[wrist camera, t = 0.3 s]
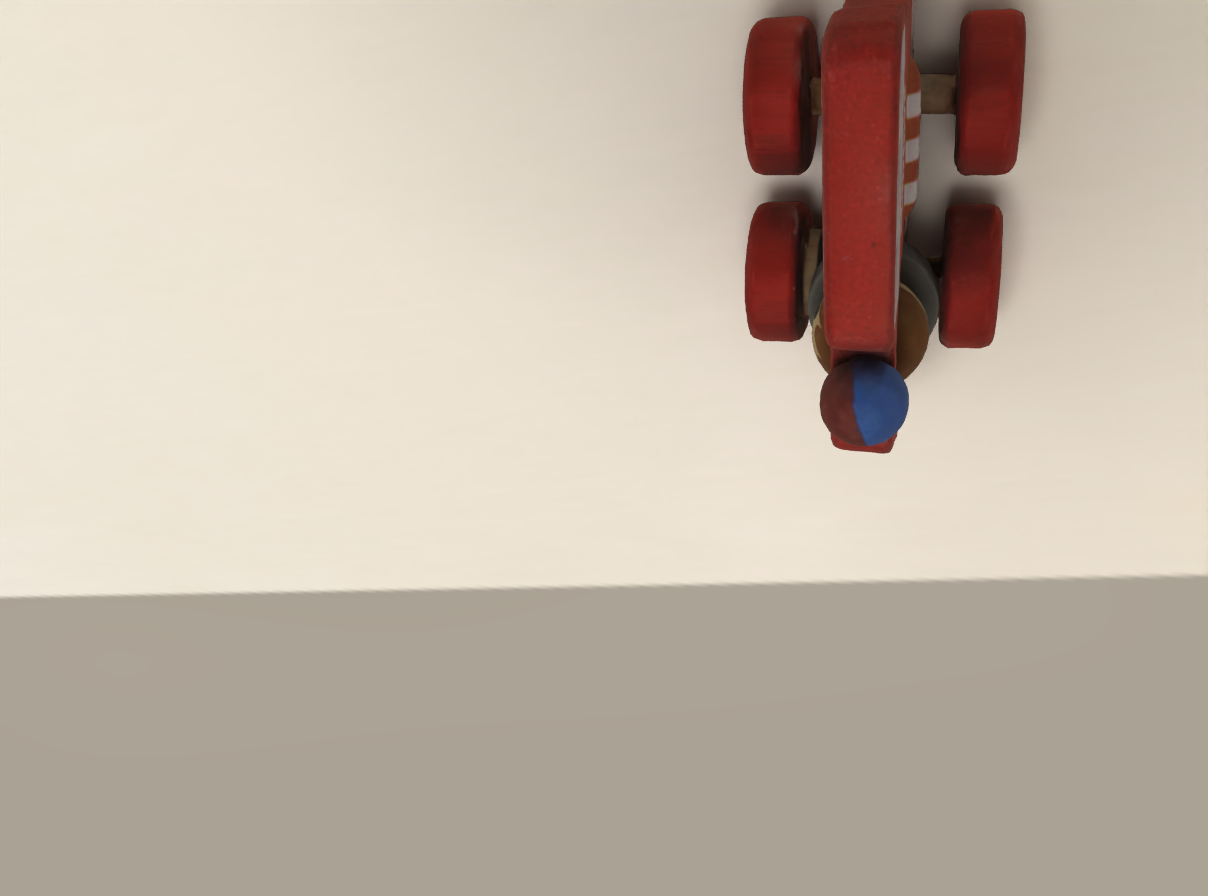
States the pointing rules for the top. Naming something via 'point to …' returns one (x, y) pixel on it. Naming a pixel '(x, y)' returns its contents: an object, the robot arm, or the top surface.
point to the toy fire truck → (875, 199)
